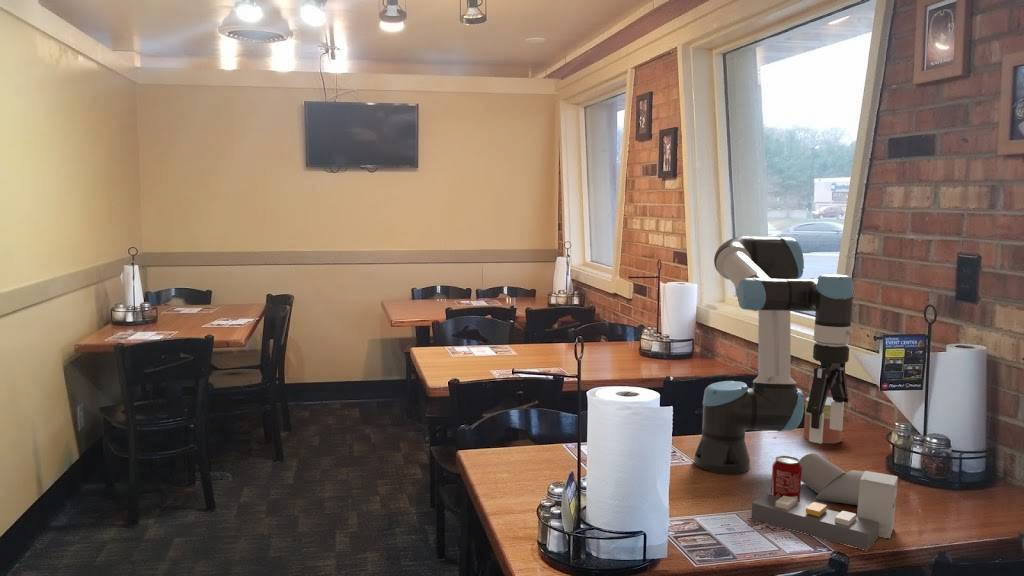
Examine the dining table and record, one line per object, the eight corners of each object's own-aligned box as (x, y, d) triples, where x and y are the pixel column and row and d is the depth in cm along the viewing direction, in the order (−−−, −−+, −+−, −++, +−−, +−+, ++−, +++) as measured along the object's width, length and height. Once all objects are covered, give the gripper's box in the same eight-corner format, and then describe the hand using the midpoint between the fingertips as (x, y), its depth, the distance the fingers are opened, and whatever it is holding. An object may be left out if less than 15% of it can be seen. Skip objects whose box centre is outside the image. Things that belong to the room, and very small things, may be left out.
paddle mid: (805, 513, 184) (805, 508, 184) (813, 506, 188) (813, 501, 188) (819, 516, 183) (819, 511, 182) (826, 510, 186) (826, 505, 186)
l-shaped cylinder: (792, 498, 202) (880, 511, 194) (795, 455, 203) (883, 467, 195) (795, 490, 218) (876, 502, 211) (798, 450, 219) (879, 461, 212)
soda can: (801, 513, 195) (804, 464, 194) (771, 510, 197) (774, 462, 195) (797, 502, 202) (800, 456, 201) (768, 500, 203) (771, 453, 202)
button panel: (751, 519, 191) (752, 497, 191) (764, 509, 197) (765, 488, 197) (866, 551, 175) (868, 528, 174) (877, 539, 181) (879, 517, 180)
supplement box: (890, 540, 181) (894, 485, 180) (854, 532, 185) (858, 478, 183) (894, 528, 187) (898, 475, 186) (860, 521, 191) (864, 469, 190)
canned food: (842, 435, 259) (844, 398, 258) (840, 445, 249) (843, 407, 248) (804, 430, 264) (807, 394, 262) (801, 440, 254) (804, 402, 252)
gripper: (829, 353, 171) (823, 451, 173) (865, 338, 190) (860, 427, 192) (794, 348, 176) (789, 444, 178) (833, 335, 195) (827, 421, 197)
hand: (826, 435), depth 185 cm, fingers open, 13 cm apart
